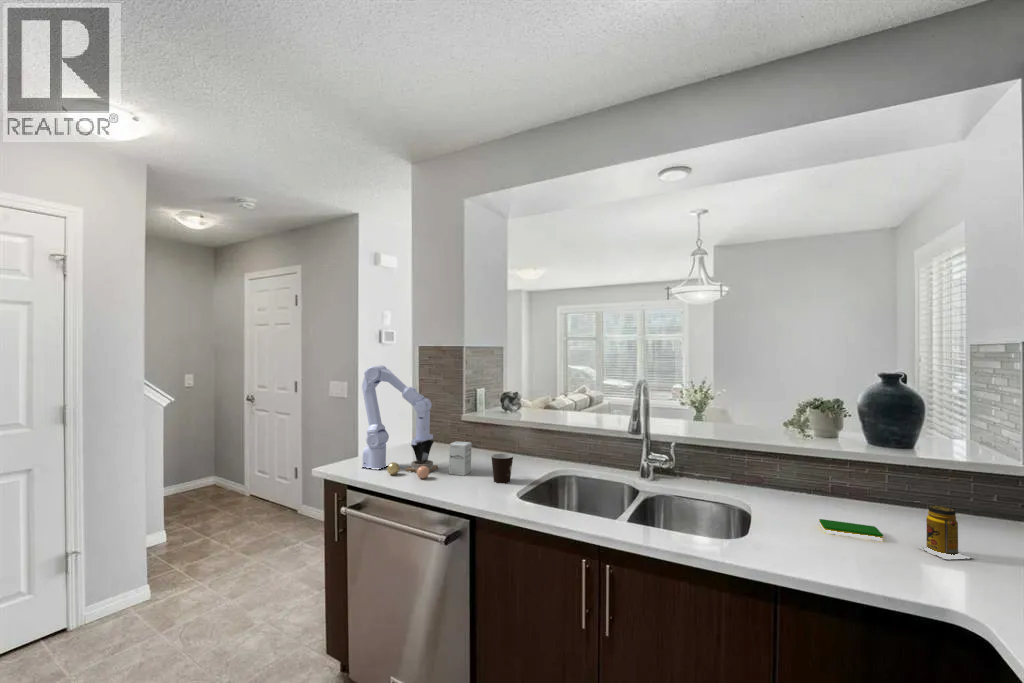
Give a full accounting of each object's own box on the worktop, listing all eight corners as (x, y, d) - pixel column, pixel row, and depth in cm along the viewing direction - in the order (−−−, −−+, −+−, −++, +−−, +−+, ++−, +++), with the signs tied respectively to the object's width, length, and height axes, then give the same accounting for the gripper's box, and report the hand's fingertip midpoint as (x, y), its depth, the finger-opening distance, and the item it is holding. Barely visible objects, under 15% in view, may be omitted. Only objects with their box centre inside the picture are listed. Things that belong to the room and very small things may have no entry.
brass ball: (384, 475, 185) (384, 463, 185) (391, 472, 190) (391, 460, 190) (394, 476, 183) (395, 464, 183) (401, 473, 188) (402, 461, 188)
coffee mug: (503, 485, 173) (504, 459, 174) (486, 481, 179) (486, 456, 179) (521, 479, 183) (521, 454, 183) (504, 475, 188) (505, 451, 188)
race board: (405, 471, 192) (405, 463, 192) (418, 465, 201) (418, 458, 201) (426, 474, 188) (426, 466, 188) (438, 468, 198) (438, 460, 198)
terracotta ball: (414, 479, 180) (414, 466, 180) (420, 476, 185) (421, 463, 185) (425, 480, 179) (425, 468, 179) (431, 477, 183) (431, 465, 183)
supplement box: (448, 474, 188) (448, 443, 188) (455, 470, 195) (456, 440, 196) (464, 476, 186) (465, 445, 186) (471, 471, 193) (472, 441, 193)
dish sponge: (819, 526, 138) (819, 518, 138) (875, 534, 133) (875, 526, 133) (824, 535, 132) (824, 526, 132) (883, 543, 126) (883, 534, 126)
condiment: (917, 548, 123) (917, 503, 123) (945, 547, 123) (945, 503, 124) (945, 561, 115) (945, 513, 116) (975, 560, 116) (975, 512, 116)
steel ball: (414, 463, 193) (414, 451, 193) (420, 461, 198) (420, 449, 198) (424, 464, 191) (424, 452, 192) (430, 462, 196) (430, 450, 196)
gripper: (422, 430, 187) (421, 463, 186) (439, 425, 200) (438, 456, 200) (407, 429, 189) (406, 461, 189) (425, 424, 203) (424, 454, 202)
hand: (422, 458), depth 195 cm, fingers closed on steel ball, 5 cm apart
